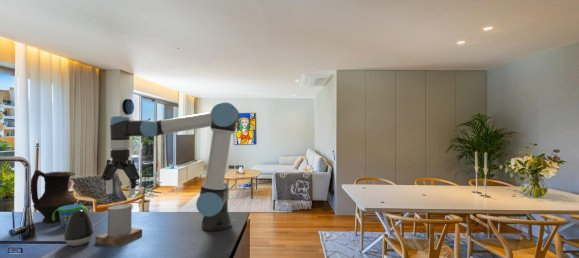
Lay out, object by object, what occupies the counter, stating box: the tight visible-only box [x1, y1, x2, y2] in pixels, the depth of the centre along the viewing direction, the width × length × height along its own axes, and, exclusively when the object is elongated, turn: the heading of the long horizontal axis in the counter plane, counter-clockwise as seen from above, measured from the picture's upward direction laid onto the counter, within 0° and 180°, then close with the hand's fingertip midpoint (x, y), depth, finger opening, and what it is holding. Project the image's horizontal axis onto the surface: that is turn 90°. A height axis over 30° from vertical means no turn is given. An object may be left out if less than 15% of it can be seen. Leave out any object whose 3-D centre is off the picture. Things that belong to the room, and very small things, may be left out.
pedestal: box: [94, 227, 143, 247], centre depth 123 cm, size 13×13×3 cm
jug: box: [30, 169, 78, 224], centre depth 150 cm, size 21×18×30 cm
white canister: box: [107, 203, 133, 237], centre depth 124 cm, size 10×10×12 cm
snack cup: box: [52, 203, 90, 228], centre depth 142 cm, size 16×10×10 cm
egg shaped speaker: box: [63, 209, 94, 247], centre depth 119 cm, size 10×10×15 cm
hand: (120, 194), depth 124 cm, fingers open, 13 cm apart
